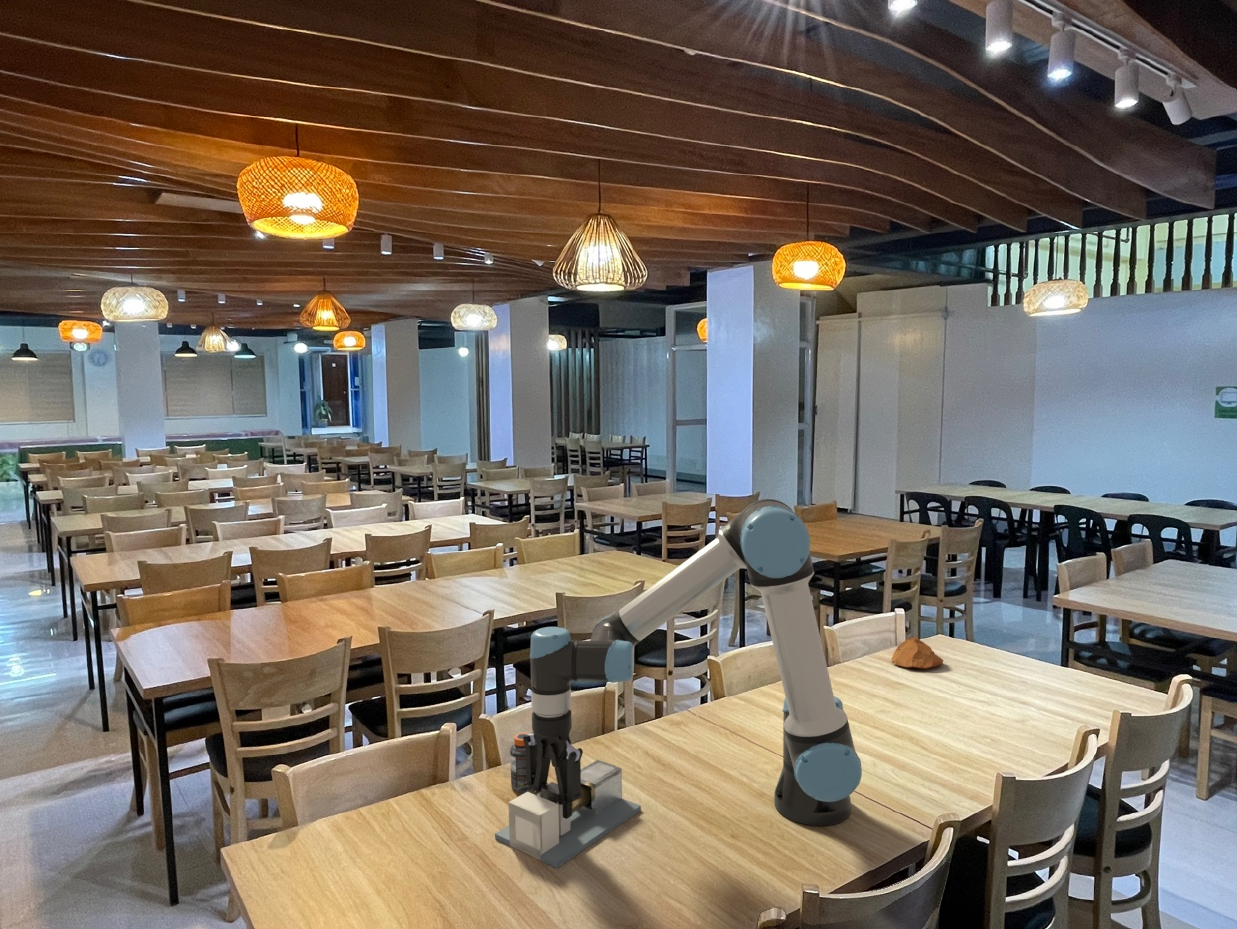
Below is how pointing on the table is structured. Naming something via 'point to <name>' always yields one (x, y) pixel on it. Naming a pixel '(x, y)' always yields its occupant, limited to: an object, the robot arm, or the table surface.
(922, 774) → the table surface
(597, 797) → the sleeve
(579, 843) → the board
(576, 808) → the brass rod with grip
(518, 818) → the socket
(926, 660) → the stone
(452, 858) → the table surface
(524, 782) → the pill bottle
